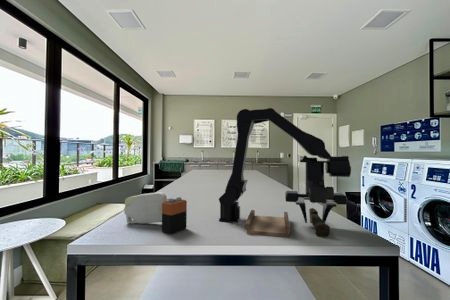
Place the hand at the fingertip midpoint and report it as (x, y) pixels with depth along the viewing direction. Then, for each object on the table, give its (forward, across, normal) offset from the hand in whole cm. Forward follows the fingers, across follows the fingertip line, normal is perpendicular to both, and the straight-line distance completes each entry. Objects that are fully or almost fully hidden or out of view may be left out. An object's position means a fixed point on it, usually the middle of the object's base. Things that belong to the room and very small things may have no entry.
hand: (314, 223), depth 75 cm
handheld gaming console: (+1, -55, -11) cm, 56 cm away
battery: (+1, -43, -14) cm, 46 cm away
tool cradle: (+1, -15, -4) cm, 15 cm away
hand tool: (+2, 0, 0) cm, 2 cm away
